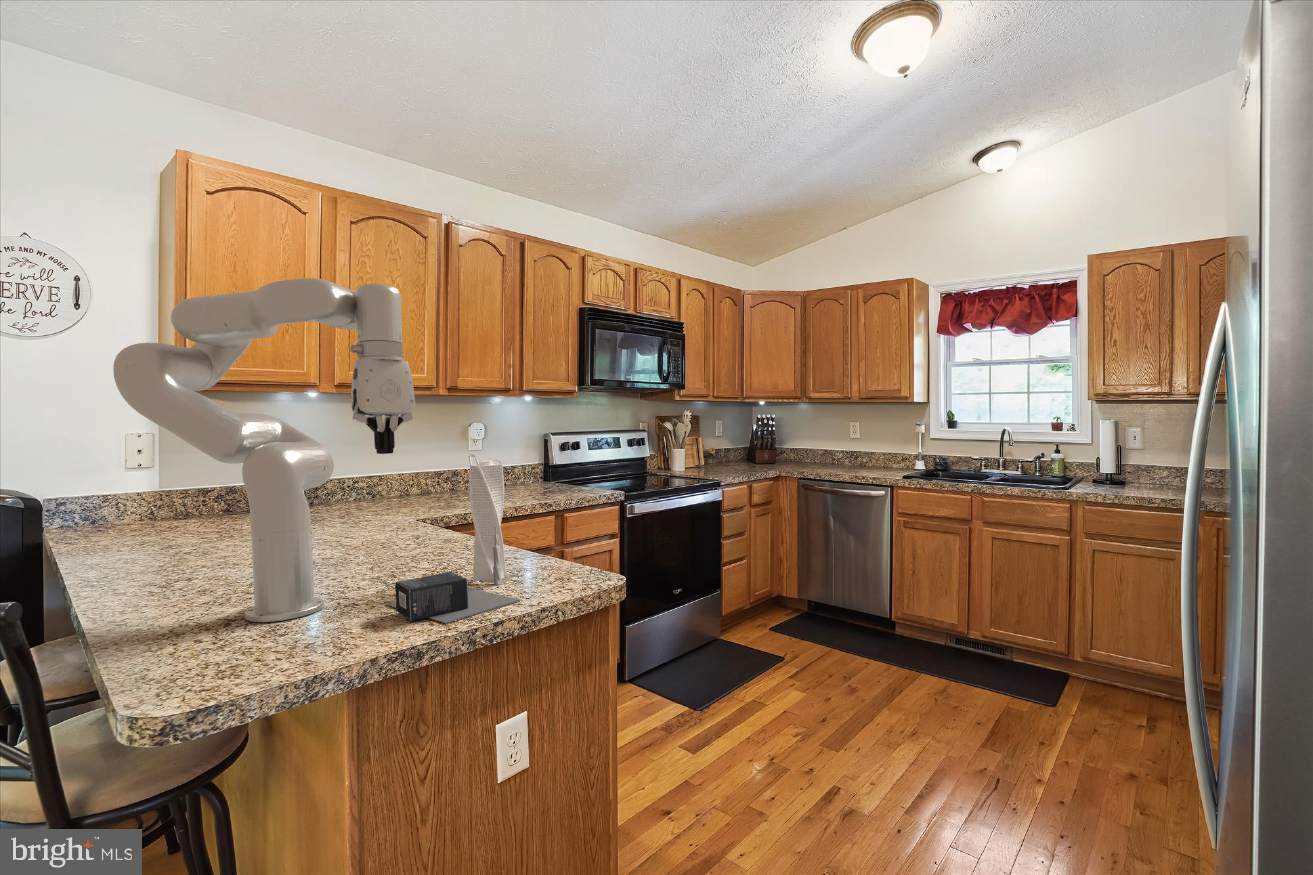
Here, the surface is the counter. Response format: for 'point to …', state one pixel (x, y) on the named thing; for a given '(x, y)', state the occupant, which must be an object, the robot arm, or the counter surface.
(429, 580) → the box
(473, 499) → the skyscraper
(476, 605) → the mat
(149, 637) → the counter surface
